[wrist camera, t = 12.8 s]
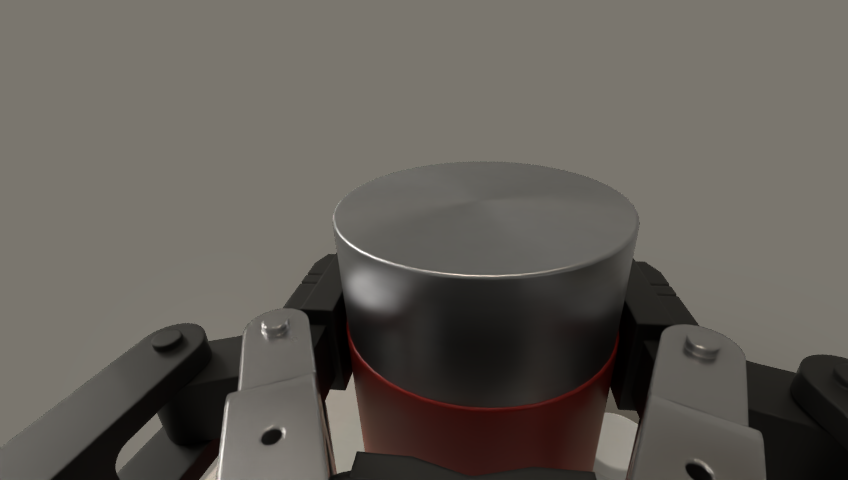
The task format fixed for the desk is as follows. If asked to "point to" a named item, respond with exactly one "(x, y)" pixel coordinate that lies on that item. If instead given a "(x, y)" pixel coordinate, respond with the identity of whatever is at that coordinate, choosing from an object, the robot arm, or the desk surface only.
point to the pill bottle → (614, 447)
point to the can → (484, 312)
